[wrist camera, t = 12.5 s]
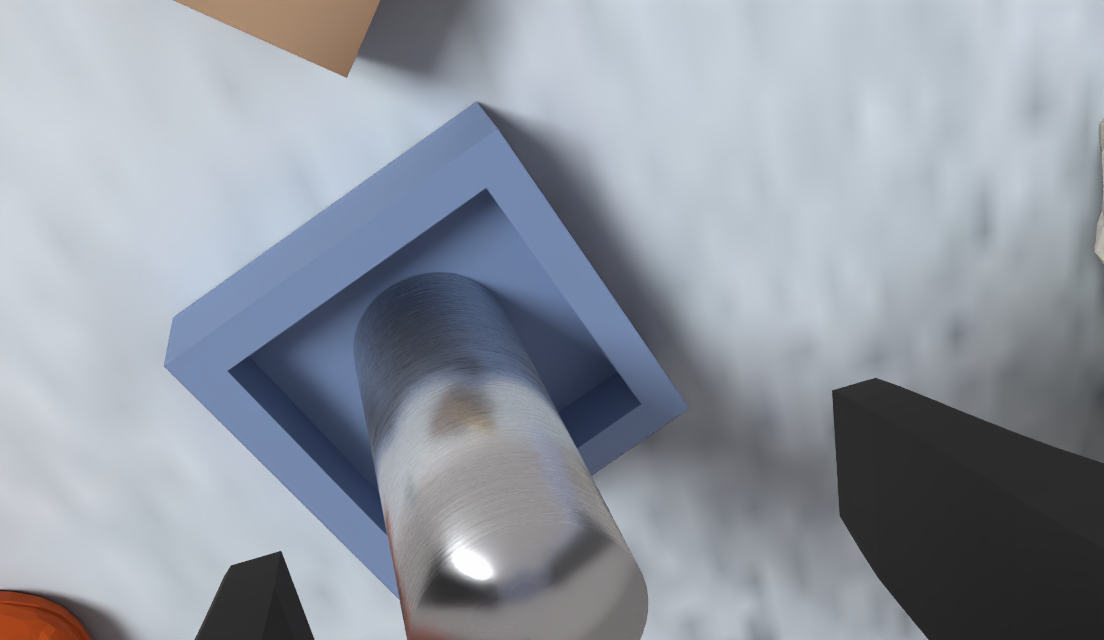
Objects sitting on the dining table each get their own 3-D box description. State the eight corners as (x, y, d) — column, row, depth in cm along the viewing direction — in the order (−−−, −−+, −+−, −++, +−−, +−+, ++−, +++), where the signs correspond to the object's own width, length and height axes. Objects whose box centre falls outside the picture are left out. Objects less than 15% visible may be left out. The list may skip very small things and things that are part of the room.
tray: (656, 362, 25) (689, 408, 23) (393, 544, 25) (404, 604, 23) (476, 101, 21) (497, 128, 19) (173, 318, 21) (163, 365, 20)
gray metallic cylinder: (536, 299, 23) (687, 552, 15) (476, 431, 24) (588, 735, 16) (386, 251, 21) (465, 501, 13) (330, 393, 22) (373, 704, 14)
